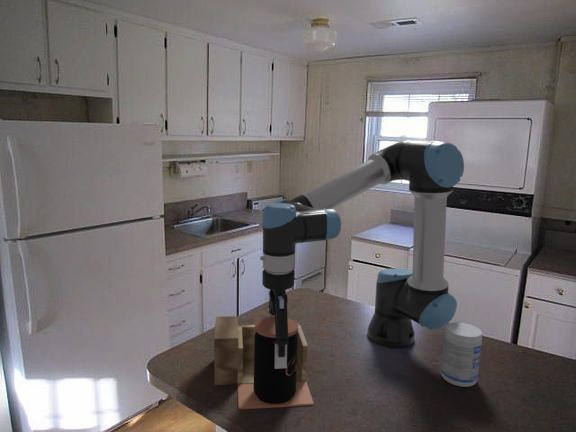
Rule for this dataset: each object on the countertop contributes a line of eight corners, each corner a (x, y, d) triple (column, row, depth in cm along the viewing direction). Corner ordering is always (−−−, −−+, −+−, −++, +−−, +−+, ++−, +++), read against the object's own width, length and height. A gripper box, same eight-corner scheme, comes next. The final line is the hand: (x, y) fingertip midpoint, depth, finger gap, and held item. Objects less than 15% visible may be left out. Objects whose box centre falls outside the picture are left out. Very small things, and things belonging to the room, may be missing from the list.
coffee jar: (291, 408, 100) (294, 336, 97) (248, 402, 102) (249, 331, 99) (299, 384, 111) (301, 318, 108) (259, 379, 113) (260, 314, 110)
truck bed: (298, 358, 126) (300, 314, 123) (305, 384, 113) (308, 335, 110) (215, 362, 122) (215, 316, 119) (213, 389, 110) (213, 338, 107)
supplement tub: (478, 391, 113) (485, 340, 110) (440, 384, 115) (446, 334, 112) (474, 372, 122) (480, 324, 119) (439, 366, 124) (444, 319, 122)
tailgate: (306, 381, 112) (313, 403, 103) (306, 384, 113) (313, 407, 103) (237, 384, 110) (238, 407, 100) (237, 388, 110) (238, 411, 100)
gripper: (258, 254, 111) (258, 329, 116) (267, 289, 87) (266, 383, 91) (287, 253, 112) (285, 328, 117) (303, 288, 88) (300, 380, 92)
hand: (277, 352), depth 104 cm, fingers open, 13 cm apart
